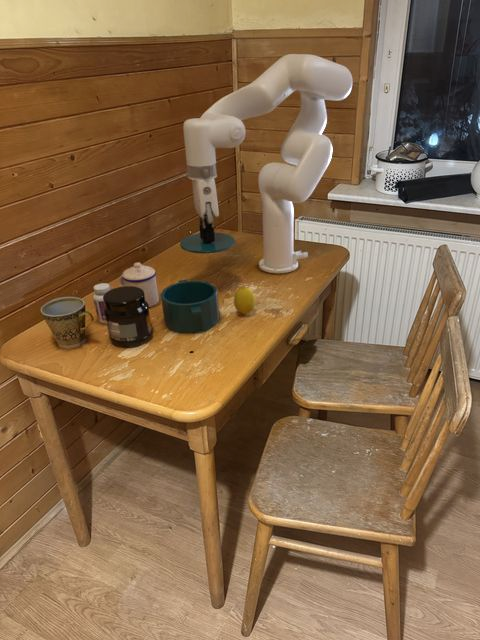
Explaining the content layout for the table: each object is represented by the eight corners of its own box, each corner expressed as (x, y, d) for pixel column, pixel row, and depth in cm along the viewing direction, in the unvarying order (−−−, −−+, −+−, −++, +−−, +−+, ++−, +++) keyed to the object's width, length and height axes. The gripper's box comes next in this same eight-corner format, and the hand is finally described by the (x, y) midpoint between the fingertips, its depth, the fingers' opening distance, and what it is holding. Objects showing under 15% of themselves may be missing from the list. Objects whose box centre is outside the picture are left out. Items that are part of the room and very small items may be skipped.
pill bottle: (122, 316, 136) (116, 283, 131) (111, 325, 132) (104, 291, 126) (105, 313, 137) (98, 280, 132) (94, 322, 133) (86, 289, 128)
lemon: (234, 310, 137) (233, 283, 133) (255, 309, 137) (254, 282, 133) (235, 320, 132) (233, 292, 128) (256, 318, 133) (255, 291, 128)
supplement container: (153, 325, 131) (146, 282, 125) (153, 346, 122) (145, 301, 116) (111, 329, 130) (102, 286, 123) (108, 351, 121) (98, 306, 114)
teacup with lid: (166, 298, 144) (161, 260, 138) (146, 312, 137) (139, 272, 131) (133, 291, 149) (127, 253, 143) (112, 303, 142) (104, 265, 136)
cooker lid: (227, 233, 149) (226, 212, 146) (241, 251, 137) (240, 229, 133) (176, 240, 145) (173, 218, 142) (185, 258, 133) (183, 235, 130)
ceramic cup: (42, 348, 122) (31, 312, 117) (68, 329, 130) (59, 294, 125) (86, 358, 119) (77, 320, 113) (111, 337, 126) (103, 301, 121)
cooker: (210, 300, 143) (208, 273, 139) (227, 332, 127) (225, 304, 123) (160, 308, 139) (156, 281, 135) (171, 342, 123) (166, 313, 119)
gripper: (223, 176, 125) (227, 248, 134) (209, 163, 138) (214, 229, 148) (193, 179, 123) (200, 251, 133) (182, 166, 136) (188, 232, 146)
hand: (207, 239), depth 140 cm, fingers closed on cooker lid, 2 cm apart
